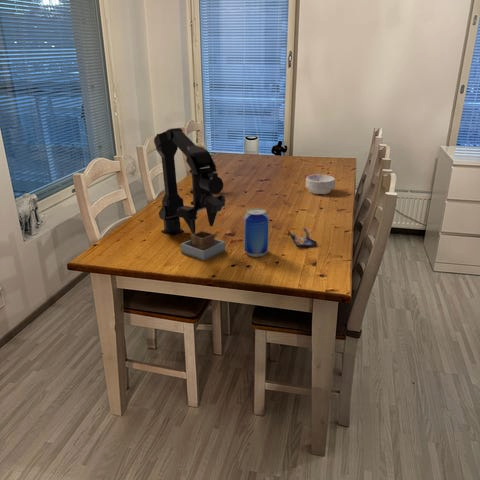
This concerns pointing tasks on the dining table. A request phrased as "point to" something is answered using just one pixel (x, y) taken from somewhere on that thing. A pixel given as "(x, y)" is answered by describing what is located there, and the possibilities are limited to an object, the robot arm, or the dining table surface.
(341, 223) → the dining table surface
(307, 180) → the paper bowls
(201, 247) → the walnut crate
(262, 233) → the beer can
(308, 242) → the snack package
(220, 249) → the grey crate
